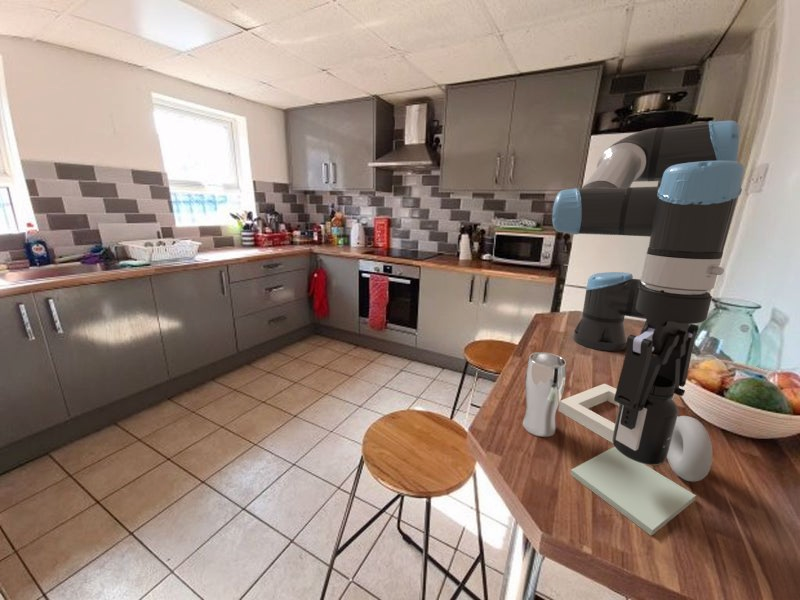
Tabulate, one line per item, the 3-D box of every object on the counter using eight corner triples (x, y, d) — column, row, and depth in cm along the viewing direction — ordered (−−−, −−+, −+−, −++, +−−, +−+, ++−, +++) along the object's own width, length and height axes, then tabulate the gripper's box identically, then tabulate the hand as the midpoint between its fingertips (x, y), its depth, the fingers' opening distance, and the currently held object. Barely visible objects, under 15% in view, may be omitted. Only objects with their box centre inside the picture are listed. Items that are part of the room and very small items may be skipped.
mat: (613, 451, 60) (614, 446, 60) (694, 500, 50) (695, 495, 50) (570, 474, 55) (571, 469, 54) (651, 535, 44) (652, 530, 44)
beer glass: (512, 421, 68) (520, 355, 64) (538, 413, 71) (546, 349, 67) (538, 442, 62) (548, 370, 58) (565, 433, 65) (576, 363, 61)
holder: (602, 392, 79) (604, 383, 79) (682, 430, 66) (685, 420, 65) (558, 410, 72) (559, 400, 71) (637, 458, 58) (640, 446, 58)
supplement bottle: (676, 470, 46) (697, 394, 43) (622, 463, 48) (638, 389, 45) (651, 438, 53) (667, 370, 50) (604, 433, 54) (617, 366, 51)
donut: (707, 499, 50) (724, 443, 47) (679, 492, 51) (694, 437, 49) (680, 455, 59) (694, 406, 56) (657, 450, 60) (669, 402, 58)
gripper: (669, 303, 36) (630, 477, 42) (744, 285, 45) (703, 431, 51) (601, 289, 42) (575, 441, 48) (678, 276, 51) (649, 406, 57)
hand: (641, 436), depth 50 cm, fingers closed on supplement bottle, 7 cm apart
